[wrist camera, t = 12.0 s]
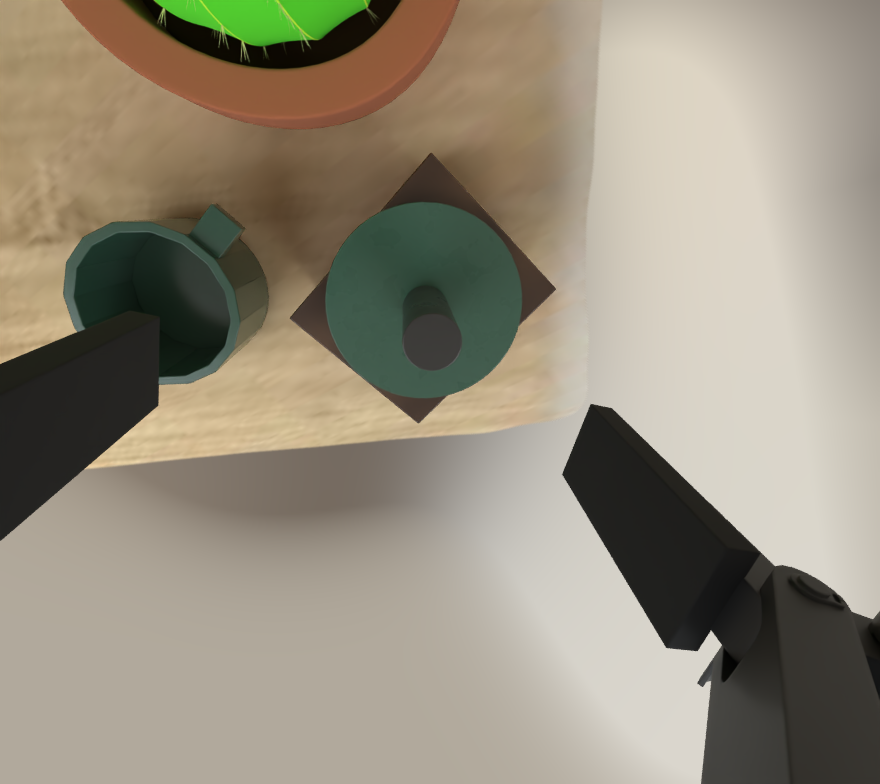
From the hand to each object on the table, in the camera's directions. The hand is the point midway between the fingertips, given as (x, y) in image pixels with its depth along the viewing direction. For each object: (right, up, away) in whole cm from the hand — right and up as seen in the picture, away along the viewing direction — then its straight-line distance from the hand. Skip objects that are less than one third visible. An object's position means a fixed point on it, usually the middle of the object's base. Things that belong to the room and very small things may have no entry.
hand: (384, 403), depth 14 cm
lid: (+1, +6, +16) cm, 18 cm away
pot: (-20, +10, +26) cm, 34 cm away
